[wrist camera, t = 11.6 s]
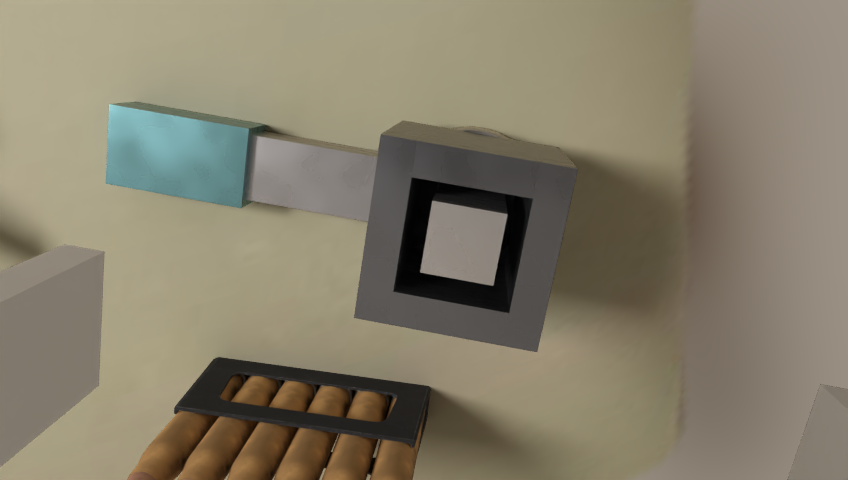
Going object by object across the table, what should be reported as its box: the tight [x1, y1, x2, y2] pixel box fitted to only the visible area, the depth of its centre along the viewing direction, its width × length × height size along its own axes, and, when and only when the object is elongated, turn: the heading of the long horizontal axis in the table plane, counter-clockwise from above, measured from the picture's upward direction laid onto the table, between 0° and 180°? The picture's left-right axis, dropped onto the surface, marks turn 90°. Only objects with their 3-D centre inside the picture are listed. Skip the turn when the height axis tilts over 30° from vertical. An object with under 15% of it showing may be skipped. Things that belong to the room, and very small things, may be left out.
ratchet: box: [106, 102, 518, 286], centre depth 27 cm, size 6×19×8 cm, turn 81°
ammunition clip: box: [127, 357, 430, 480], centre depth 28 cm, size 11×2×12 cm, turn 84°
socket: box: [354, 121, 578, 352], centre depth 26 cm, size 6×6×6 cm
